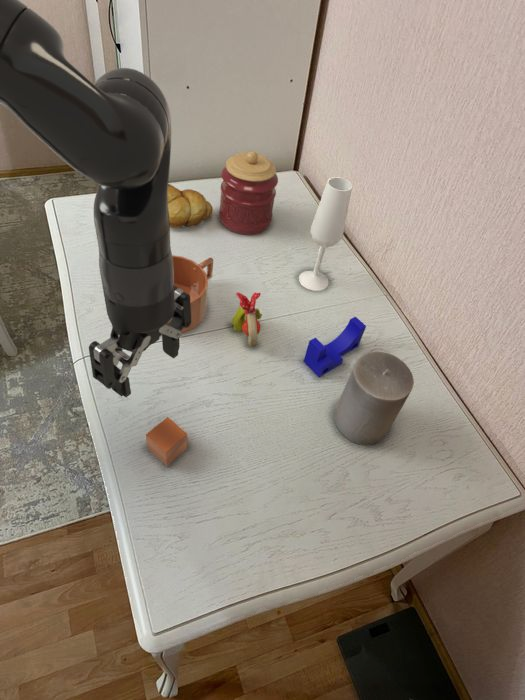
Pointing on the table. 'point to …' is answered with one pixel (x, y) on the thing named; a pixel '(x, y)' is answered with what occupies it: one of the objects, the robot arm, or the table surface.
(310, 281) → the champagne flute
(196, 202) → the bread roll
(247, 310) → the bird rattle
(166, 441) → the orange block
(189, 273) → the measuring cup
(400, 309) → the table surface
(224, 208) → the kitchen canister
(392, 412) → the pillar candle
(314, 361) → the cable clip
